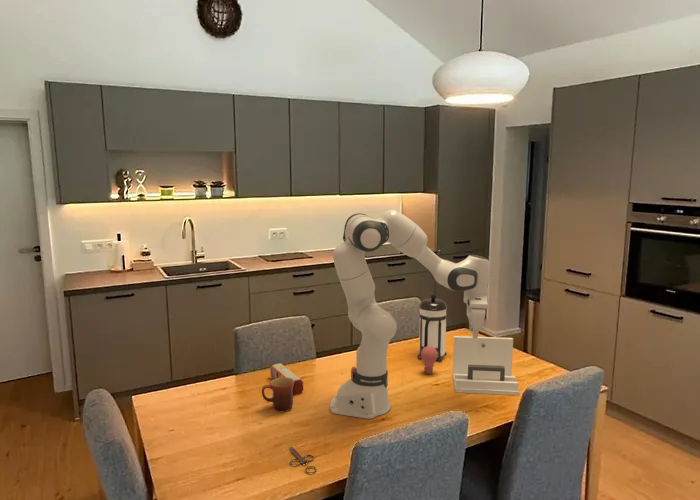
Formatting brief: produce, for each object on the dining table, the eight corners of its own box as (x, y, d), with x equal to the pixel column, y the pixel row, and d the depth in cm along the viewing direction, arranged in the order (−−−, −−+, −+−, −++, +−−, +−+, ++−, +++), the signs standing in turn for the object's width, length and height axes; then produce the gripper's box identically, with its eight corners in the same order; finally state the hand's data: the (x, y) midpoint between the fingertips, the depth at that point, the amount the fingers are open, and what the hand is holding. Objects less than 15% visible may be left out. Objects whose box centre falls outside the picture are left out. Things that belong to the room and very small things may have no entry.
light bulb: (436, 370, 224) (437, 343, 222) (437, 376, 217) (438, 349, 215) (420, 369, 224) (420, 343, 222) (420, 376, 217) (421, 349, 215)
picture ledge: (455, 392, 202) (456, 350, 199) (452, 375, 218) (453, 335, 215) (518, 395, 199) (520, 352, 196) (510, 377, 215) (512, 337, 213)
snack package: (269, 378, 217) (268, 363, 216) (283, 375, 220) (283, 360, 219) (289, 397, 199) (288, 381, 197) (304, 394, 202) (304, 377, 201)
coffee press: (408, 353, 244) (409, 292, 239) (439, 349, 248) (440, 289, 244) (424, 366, 227) (425, 301, 223) (456, 362, 232) (458, 298, 227)
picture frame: (467, 386, 204) (468, 367, 203) (467, 383, 207) (467, 364, 205) (504, 387, 202) (504, 368, 201) (502, 384, 205) (503, 365, 204)
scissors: (298, 443, 166) (298, 438, 166) (325, 471, 151) (325, 466, 151) (276, 450, 162) (276, 445, 162) (301, 479, 147) (301, 474, 147)
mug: (292, 401, 195) (292, 376, 193) (296, 411, 187) (296, 385, 185) (261, 405, 192) (260, 379, 190) (263, 416, 184) (262, 389, 182)
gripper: (464, 291, 201) (461, 325, 203) (470, 304, 181) (467, 341, 183) (480, 292, 201) (478, 326, 203) (488, 305, 181) (485, 343, 183)
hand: (473, 334), depth 193 cm, fingers open, 8 cm apart
